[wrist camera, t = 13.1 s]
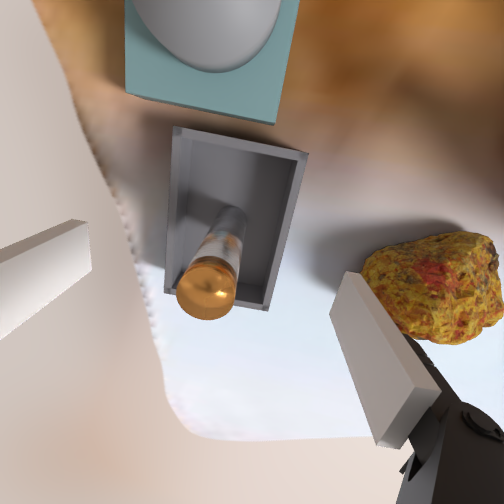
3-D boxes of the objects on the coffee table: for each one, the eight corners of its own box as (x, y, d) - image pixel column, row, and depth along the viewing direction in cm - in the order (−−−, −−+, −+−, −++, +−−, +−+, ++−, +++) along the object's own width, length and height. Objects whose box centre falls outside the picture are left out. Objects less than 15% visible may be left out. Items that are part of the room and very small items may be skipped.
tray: (187, 128, 20) (173, 125, 17) (301, 151, 20) (308, 153, 17) (176, 273, 25) (163, 293, 22) (267, 289, 26) (268, 311, 22)
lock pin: (219, 203, 22) (178, 265, 11) (249, 208, 22) (238, 275, 11) (215, 231, 23) (174, 315, 12) (243, 236, 23) (229, 324, 12)
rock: (393, 211, 26) (534, 227, 19) (392, 273, 31) (506, 305, 24) (335, 273, 21) (501, 327, 14) (343, 338, 25) (473, 404, 18)
